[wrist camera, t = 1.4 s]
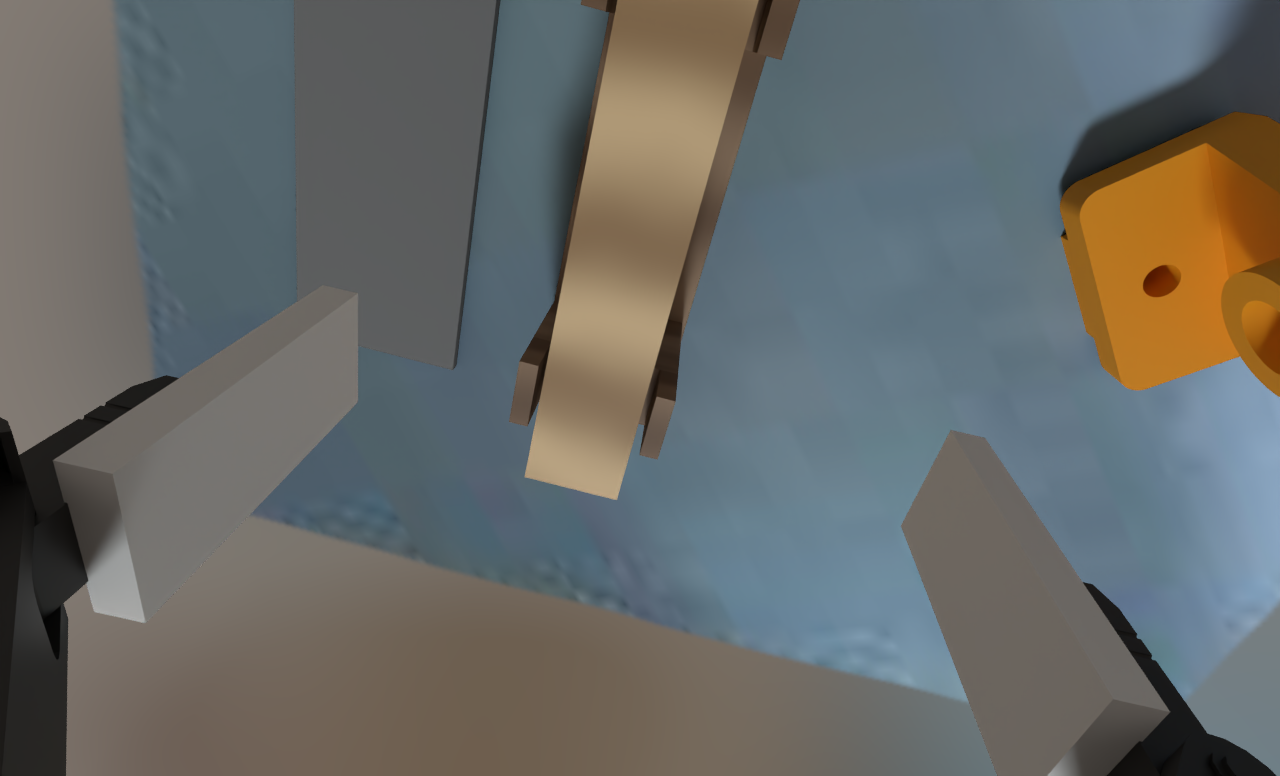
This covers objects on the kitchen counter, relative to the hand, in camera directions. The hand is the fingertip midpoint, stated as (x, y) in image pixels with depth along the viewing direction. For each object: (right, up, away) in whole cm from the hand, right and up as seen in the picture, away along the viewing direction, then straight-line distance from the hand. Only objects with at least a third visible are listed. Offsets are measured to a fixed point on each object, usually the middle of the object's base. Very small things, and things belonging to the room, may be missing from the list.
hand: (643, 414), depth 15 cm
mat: (-12, +14, +17) cm, 25 cm away
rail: (0, +8, +12) cm, 14 cm away
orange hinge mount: (+25, +7, +18) cm, 31 cm away
